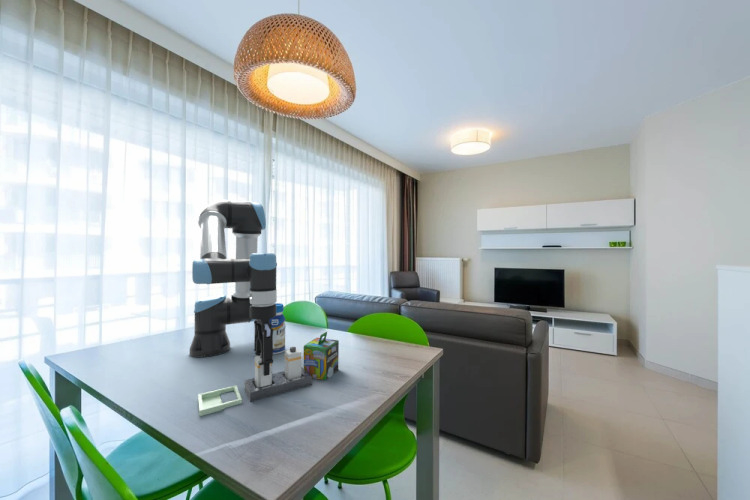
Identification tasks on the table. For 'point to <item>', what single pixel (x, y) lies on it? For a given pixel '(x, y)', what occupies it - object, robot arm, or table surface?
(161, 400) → the table surface
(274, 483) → the table surface
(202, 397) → the tray
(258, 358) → the plug
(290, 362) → the twin plug
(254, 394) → the grey slotted holder
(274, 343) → the beverage bottle
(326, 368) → the chalk box
